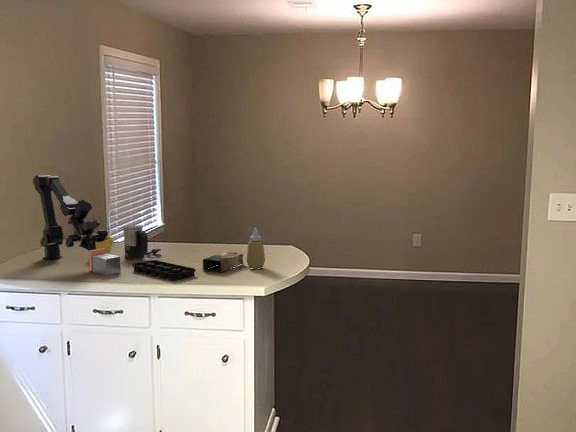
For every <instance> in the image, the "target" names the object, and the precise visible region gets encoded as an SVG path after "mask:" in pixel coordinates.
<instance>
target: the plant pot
mask: <svg viewBox="0 0 576 432" xmlns="http://www.w3.org/2000/svg"><path fill="white" fill-rule="evenodd" d="M113 240H114V239H113V237H111V236H107V237H106V239H105V240H104V241H103V242H96V249H100V248H104V249H105V254H106V253H107V254H111V250H112V246H113V243H114V242H113Z"/></svg>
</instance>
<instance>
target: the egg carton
mask: <svg viewBox="0 0 576 432" xmlns="http://www.w3.org/2000/svg"><path fill="white" fill-rule="evenodd" d="M132 267H133V271H134V272H135V273H138V274H139V273H142V274H143V275H150V276H151V277H156V278H157V277H158V278H159V279H162V280H163V279H164V280H168V281H172V282H177V281H181V280H183V279H190V278H193V277H195V272H196V271H197V270H196V268H194V267H190V266H186V265H185V266H184V265H180V264H175V263H172V262H171V263H170V262H166V261H162V260H157V259H151V260H145V261H140V262H134V263H132ZM192 276H193V277H192ZM189 277H190V278H189Z"/></svg>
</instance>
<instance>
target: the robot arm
mask: <svg viewBox="0 0 576 432" xmlns="http://www.w3.org/2000/svg"><path fill="white" fill-rule="evenodd" d="M32 183H33V185H34V189H35V191H36V192H37V193H38V194H39V197H40V202H41V207H42V212H43V219H44V222H45V223H44V224H45V226H44V228H43V231H42V233H43V234H42V235H43V236H42V237H41V239H40V240H39V244H40V247H44V256H43V257H42V259H45V260H58V259H62V258H63V256H62V255H61V249H60V245H63V242H64V237H65V235H64V231H63V227H62V225H59V224H58V222H57V217H56V213H55V207H54V201H53V197H52V192H53V194H54V196H55V198H56V199H57V200H58V202H59V203H60V205H59V210H60V211H61V213H62V215H63V217H64V216H65V217H68V216H69V218H68V220H67V224H68V225H72V227H73V230H74V232H73V234H72V233H71V234H68V237H67V238H66V240H65V242H64V244H65V246H66V247H67V248H72V247H74V245H75V243H78V242H79V244H78V245H79V246H78V247H80V248H81V247H82V248H83V249H85V250H87V251H88V252H89V250H95V249H96V242H103V241H104V240H105V239H106V237H108V235H109V232H108V230H107V229H99V230H97V231H96V233H94V232H95V229H98V227H100V221H99V220H98V219H93V220H91V221H86V220H85V219H87V218H88V215H89V214H90V212H91V210H92V208H93V207H92V205H91V203H90V202H87V201H85V199H79V200H78V201H77V200H76V199H75V198H72V197H71V196H70V195H69V193H68V192H67V191H66V189H65V187H64V186H63V184H62V183H61V181H60V177H59V176H58V175H50V174H39V175H37V174H36V175H35V176H34V178H33V179H32Z"/></svg>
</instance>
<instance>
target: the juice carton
mask: <svg viewBox="0 0 576 432" xmlns="http://www.w3.org/2000/svg"><path fill="white" fill-rule="evenodd" d="M240 264H243V265H244V253H243V252H242V253H241V252H237V251H235V252H232V251H226V252H222V253H217V254H214V255H211V256H210V257H205V258H203V259H202V271H203V270H206V269H208V268H211V267H213V266H216V265H219V266H217V267H218V268H217V270H216V272H217V273H220V272H221V273H222V272H224V271H225V272H227V271H226V270H229V271H230V269H231V268H233V267H236V266H238V265H240ZM236 268H237V267H236ZM211 269H212V268H211ZM208 270H209V269H208ZM206 271H207V270H206Z"/></svg>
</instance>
